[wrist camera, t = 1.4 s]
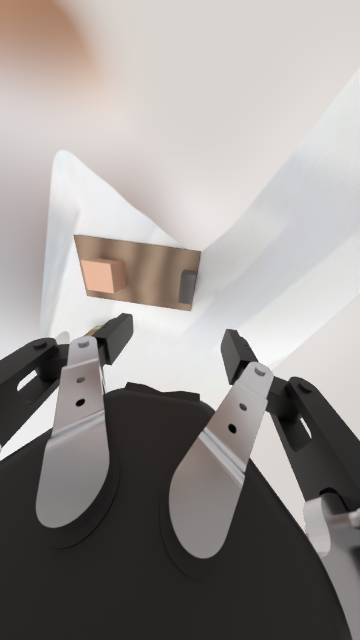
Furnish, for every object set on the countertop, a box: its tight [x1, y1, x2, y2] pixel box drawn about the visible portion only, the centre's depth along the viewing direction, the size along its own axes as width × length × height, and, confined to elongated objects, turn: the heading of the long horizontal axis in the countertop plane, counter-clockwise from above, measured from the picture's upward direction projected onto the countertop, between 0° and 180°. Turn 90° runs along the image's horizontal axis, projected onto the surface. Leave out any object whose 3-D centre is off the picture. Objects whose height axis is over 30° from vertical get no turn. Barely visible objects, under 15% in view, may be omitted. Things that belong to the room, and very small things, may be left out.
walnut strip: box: [74, 235, 201, 311], centre depth 26 cm, size 24×12×6 cm, turn 84°
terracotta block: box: [81, 258, 126, 293], centre depth 26 cm, size 5×5×5 cm
